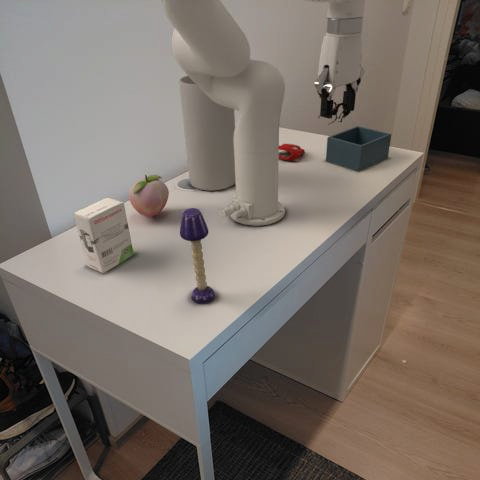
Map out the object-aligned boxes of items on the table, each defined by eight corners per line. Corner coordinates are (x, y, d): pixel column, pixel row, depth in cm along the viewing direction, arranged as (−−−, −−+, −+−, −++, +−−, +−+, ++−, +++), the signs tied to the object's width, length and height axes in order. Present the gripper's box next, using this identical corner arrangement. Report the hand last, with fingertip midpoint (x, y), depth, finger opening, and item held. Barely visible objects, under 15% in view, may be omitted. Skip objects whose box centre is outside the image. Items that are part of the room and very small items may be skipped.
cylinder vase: (181, 181, 129) (169, 78, 113) (219, 169, 134) (213, 70, 119) (207, 196, 121) (198, 87, 105) (246, 182, 126) (243, 78, 111)
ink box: (119, 248, 101) (107, 195, 94) (135, 255, 99) (124, 201, 92) (86, 266, 96) (71, 212, 89) (103, 274, 94) (89, 218, 86)
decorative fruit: (146, 205, 117) (139, 165, 111) (176, 210, 115) (171, 169, 109) (125, 222, 111) (116, 180, 104) (156, 228, 108) (149, 185, 102)
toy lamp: (207, 307, 84) (199, 219, 73) (183, 302, 85) (171, 215, 75) (218, 292, 87) (211, 206, 77) (195, 287, 89) (185, 202, 78)
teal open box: (358, 171, 129) (361, 146, 125) (325, 161, 136) (327, 137, 132) (387, 158, 136) (391, 133, 132) (355, 149, 143) (357, 125, 139)
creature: (320, 130, 112) (355, 122, 111) (317, 106, 109) (353, 97, 108) (317, 121, 119) (350, 112, 117) (314, 98, 115) (347, 89, 114)
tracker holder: (300, 144, 144) (311, 147, 135) (297, 160, 146) (308, 163, 137) (261, 139, 141) (270, 140, 132) (259, 154, 143) (268, 157, 134)
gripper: (355, 20, 110) (347, 103, 121) (303, 30, 101) (300, 118, 112) (383, 23, 106) (372, 108, 116) (331, 33, 97) (325, 125, 108)
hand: (337, 113), depth 114 cm, fingers closed on creature, 7 cm apart
